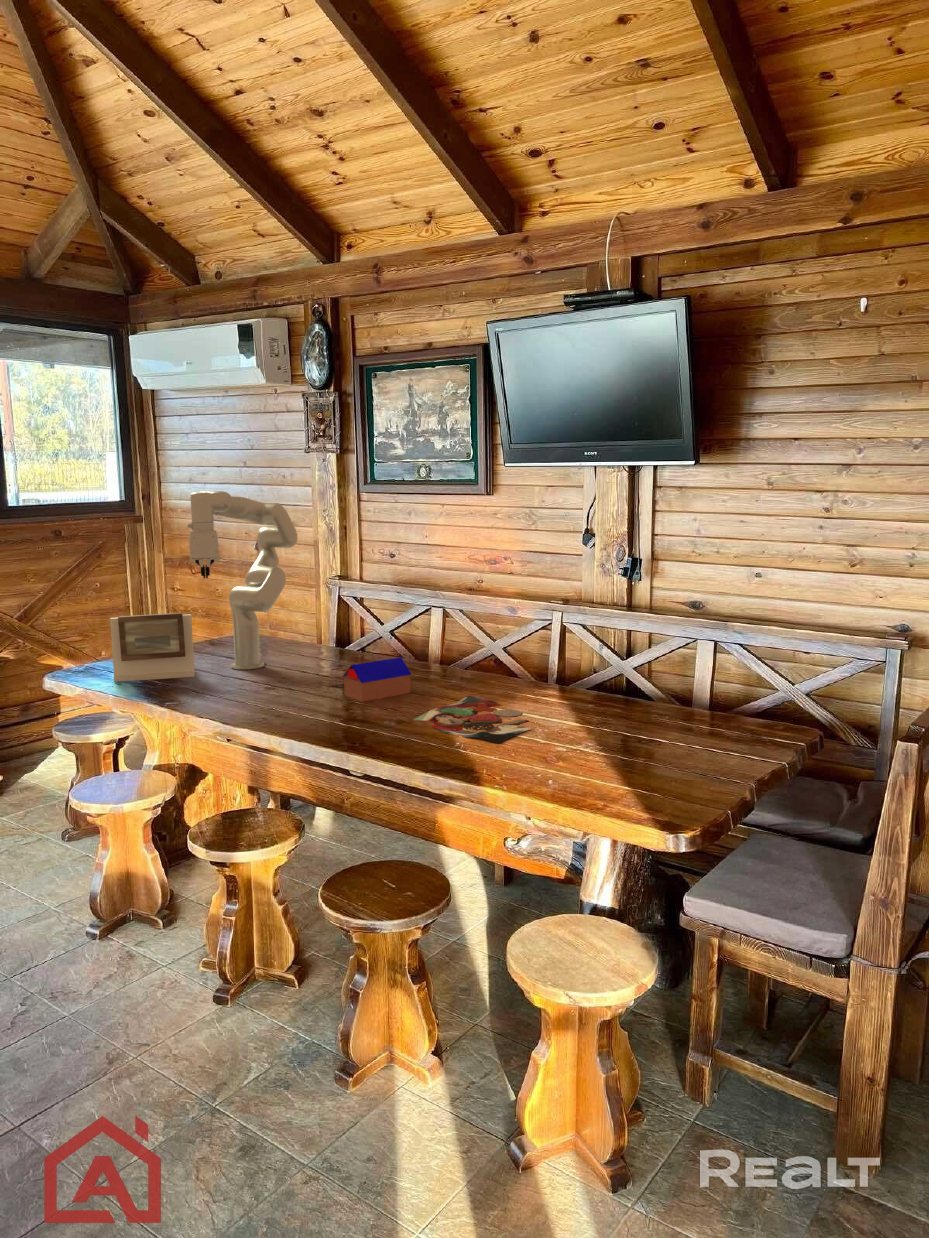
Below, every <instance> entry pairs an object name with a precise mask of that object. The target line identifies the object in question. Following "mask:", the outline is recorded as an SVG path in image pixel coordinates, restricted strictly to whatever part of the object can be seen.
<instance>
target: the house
mask: <svg viewBox="0 0 929 1238" xmlns="http://www.w3.org/2000/svg"><path fill="white" fill-rule="evenodd" d="M411 675H412V673H411V671H410V669H409V667H408V666H407V664H406V662H405V661H404V659H403V657H402V656H401V657H395V658H389V659H388V658H387V659H382V660H376V661H369V662H362V663H357V664H351V665H350V667H349V668H348V669H347V671H346V672H345V673H344V674H343V676H342V677H343V684H344V685H343V688H344V691H343V693H344V696H346V697H348V698H350V699H354V700H357V701H359V702H361V703H363V702H369V701H374V700H379V699H385V698H390V697H394V696H395V697H396V696H401V695H405V694H410V693H411Z"/></svg>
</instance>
